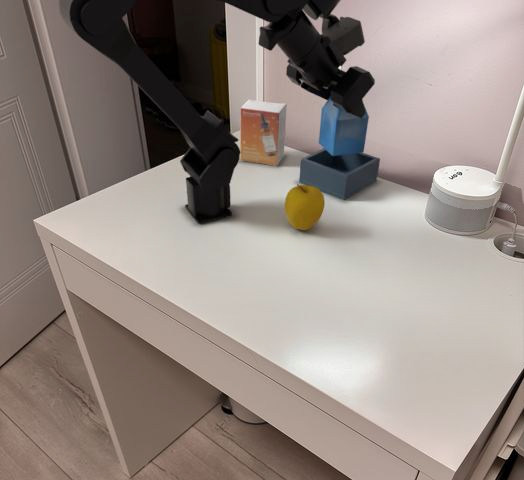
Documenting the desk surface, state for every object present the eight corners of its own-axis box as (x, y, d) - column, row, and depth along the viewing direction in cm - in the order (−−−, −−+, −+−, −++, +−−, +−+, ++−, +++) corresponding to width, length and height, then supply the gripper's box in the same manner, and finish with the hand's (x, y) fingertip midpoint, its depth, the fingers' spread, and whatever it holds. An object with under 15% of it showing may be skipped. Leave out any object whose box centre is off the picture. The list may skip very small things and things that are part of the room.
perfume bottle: (348, 139, 101) (357, 70, 93) (363, 152, 97) (374, 80, 89) (318, 143, 100) (325, 73, 92) (332, 155, 95) (340, 83, 87)
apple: (275, 228, 90) (277, 183, 84) (300, 214, 93) (303, 170, 88) (305, 242, 86) (308, 196, 81) (329, 228, 90) (334, 183, 84)
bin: (344, 200, 97) (347, 176, 94) (299, 182, 102) (300, 158, 99) (376, 181, 103) (380, 158, 100) (332, 165, 108) (334, 142, 105)
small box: (239, 161, 109) (239, 107, 102) (248, 150, 113) (248, 98, 106) (277, 166, 108) (279, 112, 100) (284, 155, 111) (287, 102, 104)
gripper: (374, 11, 75) (419, 85, 86) (306, -11, 87) (353, 57, 98) (321, 78, 77) (371, 142, 89) (262, 47, 90) (312, 107, 101)
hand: (352, 109), depth 94 cm, fingers closed on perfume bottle, 6 cm apart
